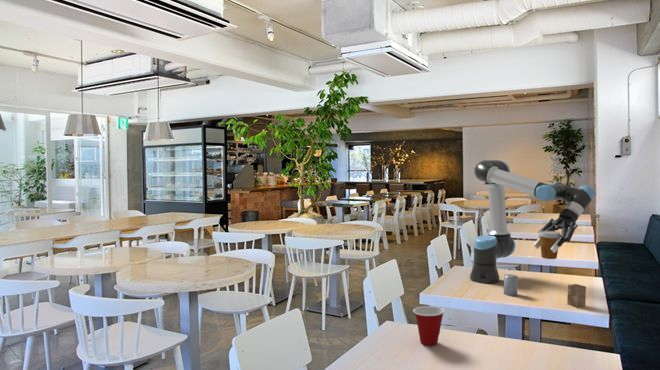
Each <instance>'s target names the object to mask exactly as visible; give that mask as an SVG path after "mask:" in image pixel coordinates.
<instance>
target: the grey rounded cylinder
mask: <svg viewBox="0 0 660 370" xmlns="http://www.w3.org/2000/svg"><path fill="white" fill-rule="evenodd" d="M503 295H505V296H509V297H516V296H518V275H517V274H511V273H509V274H507V273H506V274H504V276H503Z"/></svg>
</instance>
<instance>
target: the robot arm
mask: <svg viewBox="0 0 660 370" xmlns="http://www.w3.org/2000/svg"><path fill="white" fill-rule="evenodd" d="M473 171H474V176H475V178H476V179H477V180H479V181H480V182H484V185H485V187H486V188H487V190H488V191H487V192H488V206H489V207H488V209H489V223H490V231H489V232H488V234H485V235H478V236H476V237H475V238H474V240H473V241H474V242H473V265H472V268H471V270H470V274H469V280H470V281H472V280H473V281H472V282H476V283H481V284H496V283H497V284H498V283H499V282H500V275H499V271H498V267H497V259H502V258H507V257H509V256H511V255H512V254H513V253H514V252H515V249H516V242H515V240H514V239H513V237H512V236H511V232H510V231H509V230H508V223H507V208H506V205H507V204H506V194H505V192H506V191H505V187H506V188H508V189H511V190H514V191H517V192H520V193H523V194H527V195H530V196H532V197H536V198H537V199H538V200H539V201H543V202H551V201H565V202H567V204H566V205H564V207H563V209H562V210H561V212H560V213H559V215H558V218H557V219H554V218H551V219H550V220H549V221H548V223H546V224H545V225H544V226H543V227H542V228H541V229H540V230H538V232H537V234H539V232H540V231H558V230H561V231H560V235H561V237H560V238H558V239H557V241H556V242H555V243H554V245H553V246H552V247H551V250H552V251H553V253H555V252H556V251H557V250H558V251H559V249H560V248H561V247H562V246H563V244H564V243H565V242H568V243H569V242H570V241H571V239H572V237H573V235H574V233H575V231H576V229H577V228H578V224H577V221H578V219H579V218H580V217H581V215H582V214H583V212H584V211H585V210H586V208H587V207H588V206H589V204H591V202H592V201H593V199H594V198H595V196H596V192H595V190H594V189H593V188H592V187H590V185H589V186H588V185H580V187H578V188H577V187H573V186H570V185H567V184H565V183H562V182H557V181H553V182H551V183H550V184H549V183H545V182H541V181H539V180H536V179H532V178H528V177H525V176H522V175H519V174H515V173H512V172H511V169H510V166H509V165H508V163H506V162H505V161H503V160H498V159H496V160H484V159H483V160H482V161H479V162H477V164H476V165H475V167H474V170H473ZM533 247H535V249H536V250H538V249H539V248H541V247H540V237H539V236H538V237H537V239H536V241H535V242H534V244H533Z"/></svg>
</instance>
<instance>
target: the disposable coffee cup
mask: <svg viewBox="0 0 660 370" xmlns="http://www.w3.org/2000/svg"><path fill="white" fill-rule="evenodd" d="M539 231H540V230H539ZM539 231H538V232H539ZM537 234H538V237H540V247H539V248H540V257H541V259H546V260H556V259H558V257H557V256H558V251H559V249H558V250H557V251H556V252H555V253H553V251H552V250H551V247H552V246H553V245H554V243H555V242H556V241H557V239H558V238H560V237H561V231H557V230H555V231H540V232H539V233H537ZM560 239H561V238H560Z"/></svg>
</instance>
